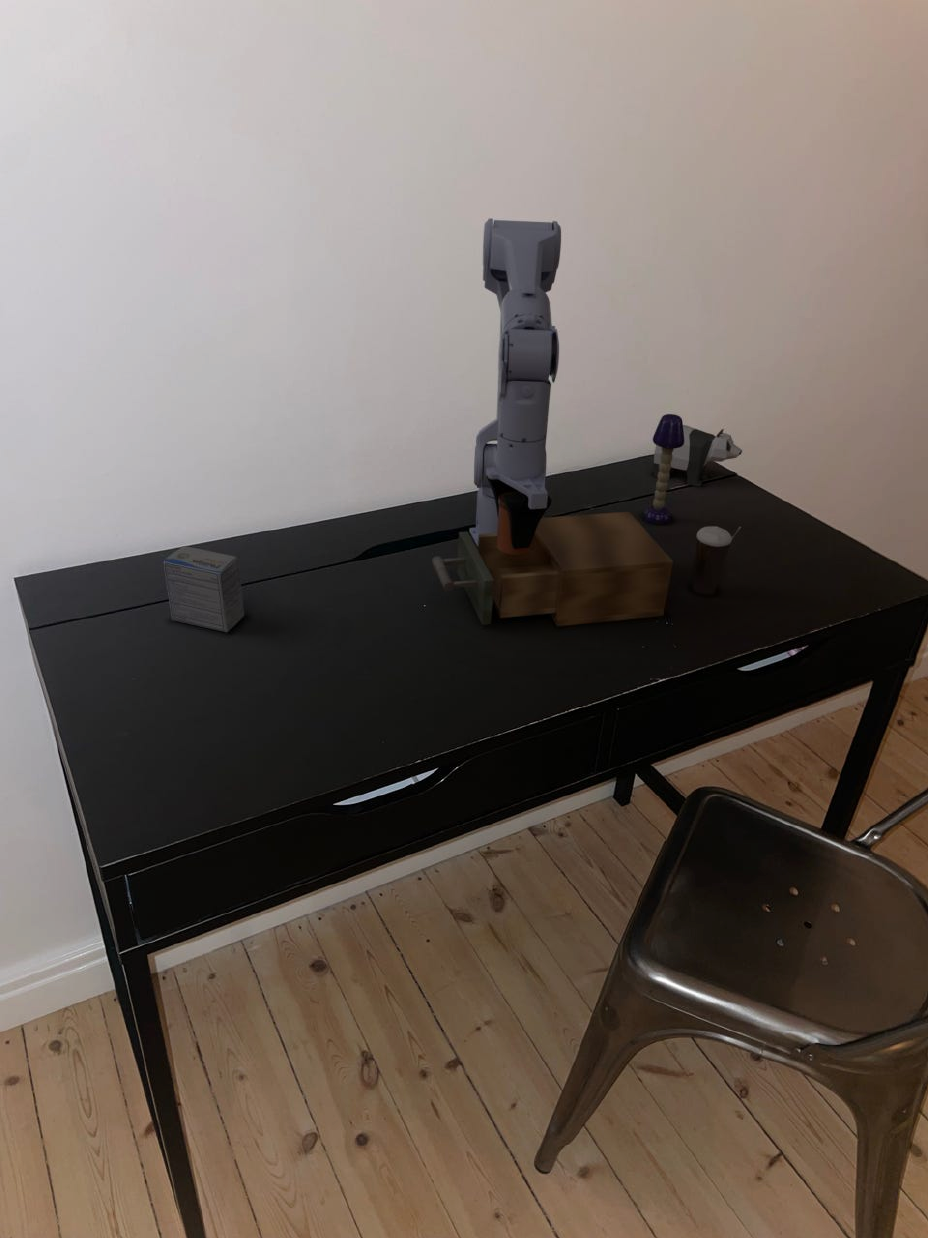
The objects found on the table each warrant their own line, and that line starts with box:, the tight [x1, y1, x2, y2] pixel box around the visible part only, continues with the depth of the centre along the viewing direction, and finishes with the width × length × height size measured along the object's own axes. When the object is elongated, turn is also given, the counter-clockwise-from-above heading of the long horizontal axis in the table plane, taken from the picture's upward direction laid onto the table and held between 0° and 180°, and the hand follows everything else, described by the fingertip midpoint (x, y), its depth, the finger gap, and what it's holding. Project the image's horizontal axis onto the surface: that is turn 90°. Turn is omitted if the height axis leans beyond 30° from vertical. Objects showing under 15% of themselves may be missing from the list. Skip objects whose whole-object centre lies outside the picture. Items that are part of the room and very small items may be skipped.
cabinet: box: [535, 511, 674, 627], centre depth 127 cm, size 15×15×8 cm
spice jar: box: [496, 491, 532, 555], centre depth 118 cm, size 5×5×6 cm
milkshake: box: [691, 525, 742, 596], centre depth 128 cm, size 4×5×10 cm
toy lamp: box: [643, 413, 684, 525], centre depth 145 cm, size 5×5×17 cm
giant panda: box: [653, 424, 743, 488], centre depth 160 cm, size 15×6×10 cm, turn 61°
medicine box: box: [162, 545, 245, 633], centre depth 117 cm, size 8×4×9 cm, turn 71°
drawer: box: [431, 530, 561, 626], centre depth 124 cm, size 18×13×6 cm
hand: (514, 537), depth 119 cm, fingers closed on spice jar, 4 cm apart
